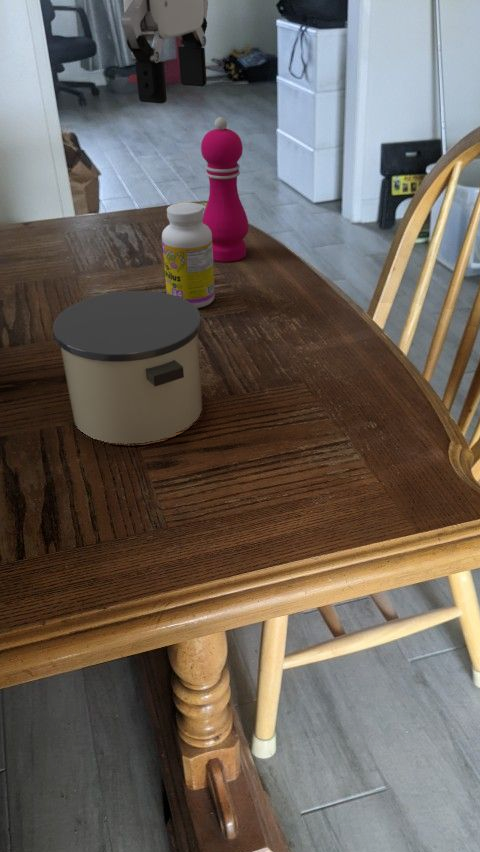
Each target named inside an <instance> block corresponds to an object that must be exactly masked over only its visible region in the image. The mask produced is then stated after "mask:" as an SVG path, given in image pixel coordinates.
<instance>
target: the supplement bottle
mask: <svg viewBox="0 0 480 852" xmlns="http://www.w3.org/2000/svg"><path fill="white" fill-rule="evenodd" d="M166 215H167V220H168V222H169V224H168V225H166V227H165V228H164V229H163V230H162V233H161V244H162V253H163V254H162V255H163V265H164V266H163V267H164V279H165V280H164V281H165V289H166V290H165V291H166V292H165V293H167V294H171V295H175V296H178V297H180V298H183V299H185V300H187V301H189V302H190V303H192V304H193V305H194V306H195V307H196V308H197V309H201V308H204V307H207V306H209V305H211V303H212V302H213V301H214V300H215V297H216V294H215V291H216V289H215V272H214V270H215V268H214V260H213V248H212V233H211V230H210V229H209V227H208V226H207V225H205V224H203V223H202V220H203V217H204V207H203V205H202V204H199V203H196V202H189V201H188V202H177V203H174V204H170V205H169V206H168V207H167V208H166Z"/></svg>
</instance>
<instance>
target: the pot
mask: <svg viewBox="0 0 480 852" xmlns="http://www.w3.org/2000/svg"><path fill="white" fill-rule="evenodd" d="M201 319H202V318H201V313H200V311H199V308H196V307H195V306H194V305H193V304H192V303H190V302H189V301H187V300H185V299H183V298H180V297H178V296H175V295H171V294H167V292H160V291H154V290H153V291H152V290H123V291H122V290H121V291H115V292H114V291H113V292H107V293H104V294H103V293H102V294H99V295H93V296H90V297H87V298H85V299H82V300H79V301H78V302H75V303H73V304H71V305H70V306H67V308H65V309H63V311H61V312H60V313H59V314H58V315H57V317H56V318H55V320H54V322H53V325H52V332H53V337H54V339H55V342H56V343H57V345H58V346H59V347H60V353H61V358H62V363H63V369H64V374H65V380H66V385H67V390H68V396H69V402H70V407H71V412H72V417H73V423H74V425H75V427H76V426H77V427H76V428H77V430H78V429H79V430H80V431H81V432H83V433H84V434H86V435H88V436H90V437H91V438H93V439H97V440H101V441H104V442H109V443H116V444H117V443H119V444H120V443H122V444H123V443H124V444H127V443H130V444H131V443H145V442H150V441H156V440H160V439H163V438H166V437H169V436H171V435H173V434H175V433H176V432H179V431H181V430H182V429H184V428H186V427H188V426H189V425H190V424H192V423H193V422H194V421H195V420H196V419H197V418H198V416H199V415H200V413H201V411H202V412H203V408H202V407H203V395H202V393H203V392H202V380H201V379H202V377H201V365H200V363H201V361H200V347H199V332H200V331H201V328H202V327H201V326H202V320H201ZM201 414H202V413H201ZM79 430H78V431H79ZM80 431H79V432H80ZM81 432H80V433H81ZM84 434H83V435H84Z"/></svg>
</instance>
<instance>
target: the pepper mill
mask: <svg viewBox="0 0 480 852" xmlns="http://www.w3.org/2000/svg"><path fill="white" fill-rule="evenodd" d="M227 127H228V121H227V119H225V118H224V117H222V116H219V117H217V118H215V121H214V129H211V130H209V131H208V132H207V133H205V134H204V135H203V138H202V140H201V144H200V152H201V156H202V158H203V159H204V160H205V162H206V165H205V169H206V170H205V171H206V172H205V175H206V177H207V178H208V181H209V195H208V200H207V203H206V206H205V209H204V210H203V214H204V217H203V220H202V223H203V224H205V225H207V226H208V227H209V229H210V230H211V233H212V248H213V262H214V261H215V262H220V263H230V262H236V261H239V260H242V259H243V258H244V257H246V255H247V245H246V244H247V243H246V242H245V240H244V239H245V237H246V236H247V235H248V234H249V220H248V216H247V213H246V211H245V208H244V206H243V204H242V201H241V199H240V196H239V193H238V177H239V176H240V174H241V171H240V164H239V163H238V162H239V161H240V159H241V157H242V155H243V149H244V148H243V143H242V140H241V137H240V136H239V134H238V133H237V132H235V131H234V130H232V129H229V128H227Z"/></svg>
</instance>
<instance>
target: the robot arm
mask: <svg viewBox="0 0 480 852" xmlns="http://www.w3.org/2000/svg"><path fill="white" fill-rule="evenodd" d="M208 8H209V0H123V15H122V16H121V20H120V22H121V26H122V29H123V32H124V35H125V37H126V45H127V47H128V48H129V50H130V52H131V59H132V62H134V65H135V74H136V85H137V92H138V100H139V101H140V102H141V103H149V104H161V105H162V104H165V103H166V102H167V100H168V99H167V98H168V97H167V86H166V74H165V63H164V61H160V59H161V55H162V51H163V47H164V42H165V40H171V39H173V38H178V39H179V42H180V44H181V45H179V46H178V47H177V50H178V51H177V52H178V63H179V64H178V65H179V79H180V84H181V85H183V86H190V87H193V86H194V87H204V86H205V87H206V85H207V83H208V82H207V66H206V65H207V64H206V45H207V37H206V31H207V28H208V21H207V18H208V17H207V16H208V10H209V9H208ZM150 42H152V44H150Z"/></svg>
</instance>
